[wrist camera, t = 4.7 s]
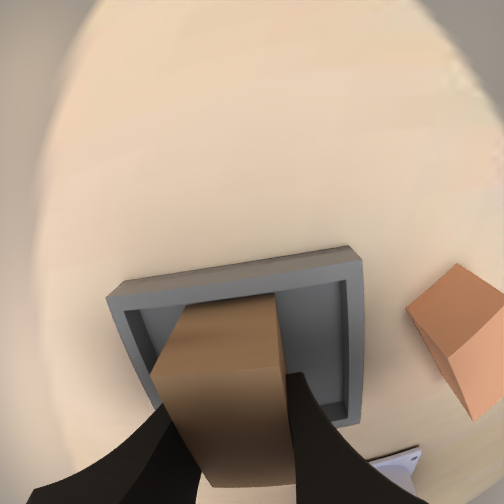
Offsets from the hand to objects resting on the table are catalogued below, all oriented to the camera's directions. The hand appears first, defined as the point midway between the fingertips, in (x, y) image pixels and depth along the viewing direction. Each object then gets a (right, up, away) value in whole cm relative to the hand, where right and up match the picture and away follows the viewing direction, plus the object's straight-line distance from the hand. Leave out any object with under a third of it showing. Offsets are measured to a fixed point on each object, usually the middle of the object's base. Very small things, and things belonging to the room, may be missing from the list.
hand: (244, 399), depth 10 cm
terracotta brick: (+10, +2, +2) cm, 11 cm away
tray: (0, +1, +3) cm, 3 cm away
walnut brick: (0, +1, +2) cm, 2 cm away
